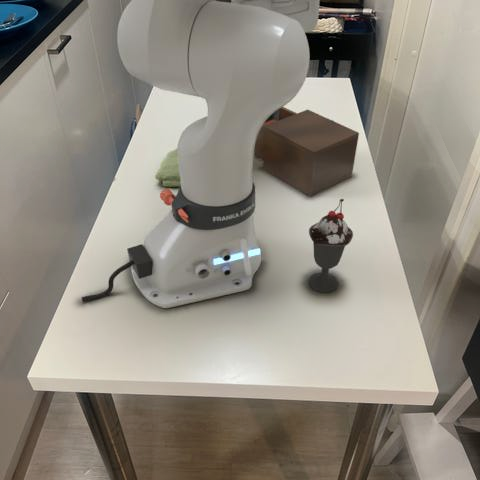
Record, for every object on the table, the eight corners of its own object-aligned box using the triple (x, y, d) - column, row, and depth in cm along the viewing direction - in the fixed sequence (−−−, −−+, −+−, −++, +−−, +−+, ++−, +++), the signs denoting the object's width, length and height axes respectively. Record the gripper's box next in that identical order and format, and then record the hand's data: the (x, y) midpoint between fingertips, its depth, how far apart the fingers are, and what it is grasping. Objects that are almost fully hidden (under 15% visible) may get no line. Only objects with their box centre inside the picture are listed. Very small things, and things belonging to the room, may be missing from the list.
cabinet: (262, 168, 109) (263, 126, 102) (304, 151, 114) (307, 109, 107) (309, 196, 101) (314, 152, 94) (351, 176, 106) (359, 132, 99)
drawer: (227, 142, 115) (226, 108, 110) (263, 128, 120) (264, 95, 115) (278, 171, 106) (279, 136, 100) (315, 155, 111) (319, 120, 105)
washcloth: (167, 157, 112) (165, 143, 110) (244, 160, 111) (244, 146, 109) (155, 188, 103) (152, 174, 101) (239, 191, 102) (239, 177, 100)
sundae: (342, 270, 84) (356, 193, 74) (344, 297, 80) (359, 218, 69) (303, 268, 85) (311, 191, 74) (303, 295, 80) (312, 216, 70)
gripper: (243, -7, 84) (243, 79, 94) (327, -24, 93) (319, 56, 103) (220, -13, 87) (222, 70, 97) (304, -29, 96) (298, 49, 106)
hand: (273, 63), depth 100 cm, fingers open, 8 cm apart
